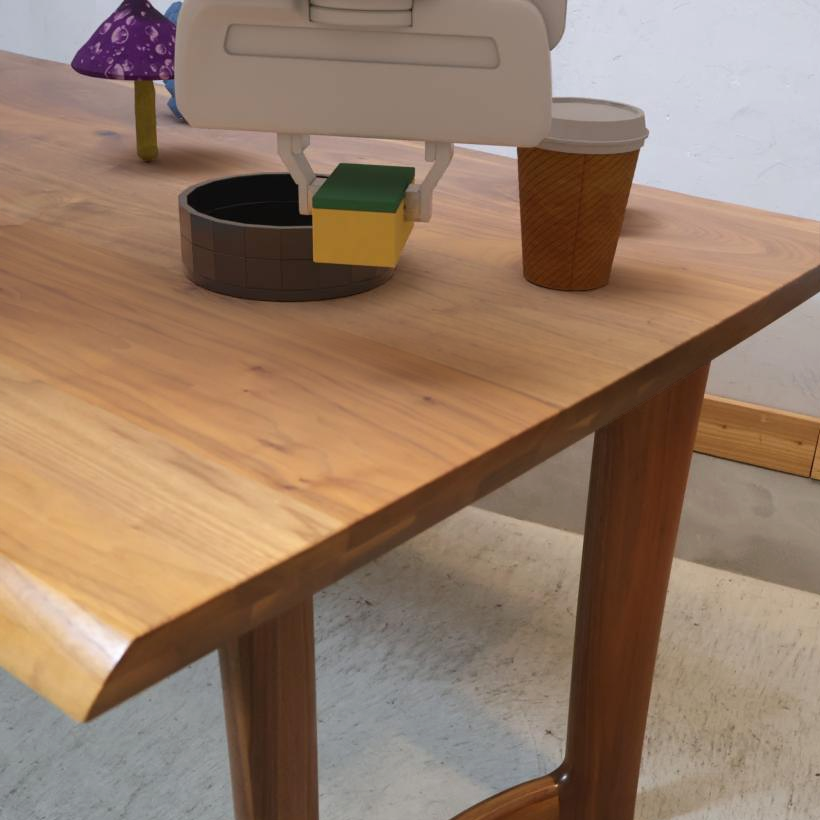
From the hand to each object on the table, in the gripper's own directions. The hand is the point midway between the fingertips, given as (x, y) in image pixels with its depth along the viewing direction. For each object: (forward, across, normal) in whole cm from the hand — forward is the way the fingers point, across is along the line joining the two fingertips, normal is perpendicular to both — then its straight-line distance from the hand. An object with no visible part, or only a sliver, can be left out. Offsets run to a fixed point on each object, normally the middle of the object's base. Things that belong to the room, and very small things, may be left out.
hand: (365, 216), depth 65 cm
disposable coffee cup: (+9, -12, -18) cm, 23 cm away
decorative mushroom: (+9, +28, -44) cm, 53 cm away
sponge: (+2, 0, 0) cm, 2 cm away
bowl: (+8, +8, -16) cm, 20 cm away
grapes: (+9, +32, -65) cm, 73 cm away
